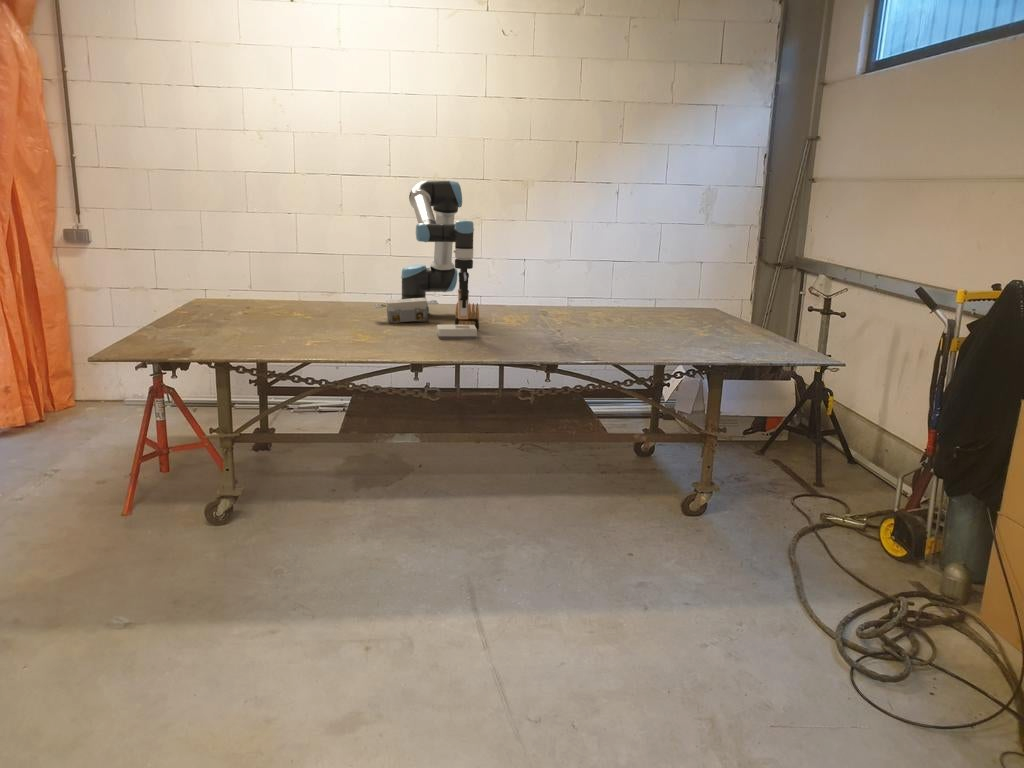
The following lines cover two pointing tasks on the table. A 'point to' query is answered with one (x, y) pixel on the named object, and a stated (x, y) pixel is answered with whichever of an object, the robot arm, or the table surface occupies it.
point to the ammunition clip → (469, 317)
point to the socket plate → (456, 332)
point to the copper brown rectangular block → (459, 305)
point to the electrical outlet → (407, 309)
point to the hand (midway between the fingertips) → (463, 314)
